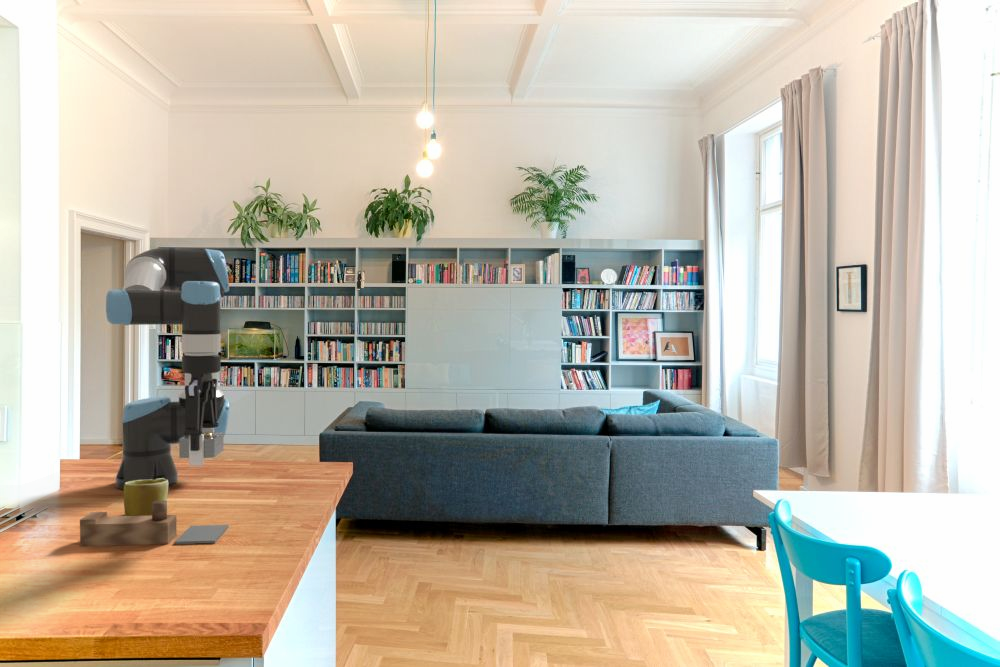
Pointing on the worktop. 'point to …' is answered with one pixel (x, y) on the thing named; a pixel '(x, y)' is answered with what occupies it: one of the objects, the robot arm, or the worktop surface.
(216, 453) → the lever cap
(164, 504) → the plane body
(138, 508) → the mug
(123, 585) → the worktop surface
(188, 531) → the mat
